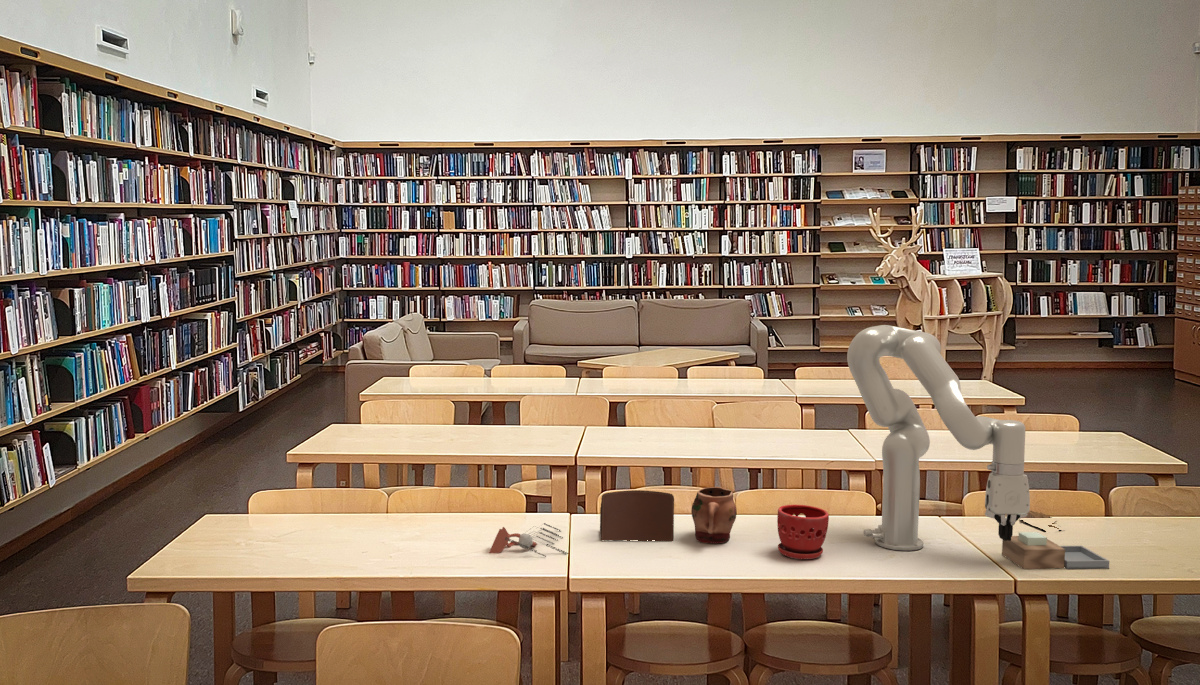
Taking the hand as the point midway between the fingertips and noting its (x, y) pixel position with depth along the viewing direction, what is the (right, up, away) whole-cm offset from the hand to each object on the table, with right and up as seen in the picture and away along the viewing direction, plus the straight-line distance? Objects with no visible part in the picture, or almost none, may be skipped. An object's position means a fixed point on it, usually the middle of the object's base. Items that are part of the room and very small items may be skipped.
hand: (1005, 539), depth 263 cm
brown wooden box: (+8, -6, +1) cm, 10 cm away
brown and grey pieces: (-121, -5, +13) cm, 122 cm away
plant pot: (-51, -5, +5) cm, 52 cm away
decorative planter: (-73, -4, +16) cm, 75 cm away
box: (+19, -6, +2) cm, 20 cm away
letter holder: (-94, -4, +21) cm, 96 cm away
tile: (+7, -1, +1) cm, 7 cm away
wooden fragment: (+25, -3, +41) cm, 48 cm away
